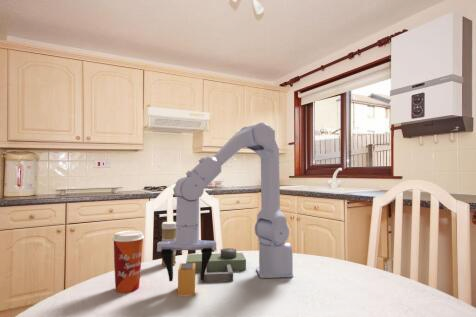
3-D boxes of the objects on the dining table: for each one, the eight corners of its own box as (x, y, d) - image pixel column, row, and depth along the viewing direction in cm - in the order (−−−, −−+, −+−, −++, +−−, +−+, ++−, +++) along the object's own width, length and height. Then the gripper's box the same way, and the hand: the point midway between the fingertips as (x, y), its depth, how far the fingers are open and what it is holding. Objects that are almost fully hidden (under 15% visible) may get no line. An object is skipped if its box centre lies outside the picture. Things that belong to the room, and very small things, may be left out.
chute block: (195, 286, 76) (195, 262, 76) (194, 295, 71) (194, 269, 71) (179, 287, 76) (179, 263, 76) (177, 295, 70) (178, 269, 70)
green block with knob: (242, 261, 97) (242, 246, 97) (250, 280, 80) (250, 261, 81) (187, 263, 95) (187, 248, 95) (184, 282, 78) (184, 263, 79)
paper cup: (119, 297, 69) (121, 237, 70) (105, 288, 74) (107, 233, 75) (149, 288, 75) (150, 232, 75) (134, 280, 80) (135, 228, 80)
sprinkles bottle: (171, 261, 97) (172, 220, 98) (178, 264, 94) (178, 222, 94) (158, 264, 94) (159, 222, 95) (165, 267, 91) (165, 223, 92)
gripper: (155, 227, 69) (154, 286, 68) (217, 227, 71) (216, 284, 70) (160, 222, 76) (158, 276, 75) (215, 222, 78) (215, 274, 77)
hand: (186, 279), depth 73 cm, fingers open, 7 cm apart
